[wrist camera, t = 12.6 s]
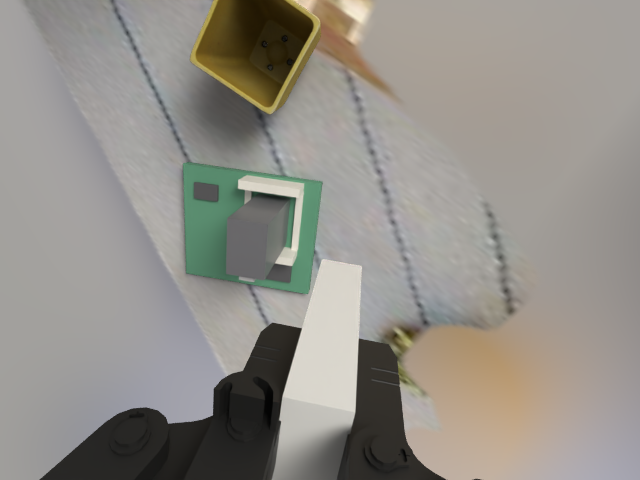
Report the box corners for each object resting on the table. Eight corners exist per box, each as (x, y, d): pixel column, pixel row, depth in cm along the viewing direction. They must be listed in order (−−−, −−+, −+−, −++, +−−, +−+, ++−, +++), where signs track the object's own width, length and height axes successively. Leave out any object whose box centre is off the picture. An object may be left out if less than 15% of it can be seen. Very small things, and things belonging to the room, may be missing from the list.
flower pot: (291, 114, 40) (270, 117, 32) (225, 69, 39) (186, 60, 31) (333, 39, 37) (322, 20, 29) (262, -11, 36) (230, -46, 28)
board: (187, 162, 44) (170, 167, 40) (322, 181, 42) (317, 189, 38) (190, 269, 49) (175, 283, 45) (309, 289, 48) (304, 306, 44)
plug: (258, 193, 43) (227, 218, 33) (290, 198, 42) (268, 224, 33) (255, 243, 45) (225, 279, 36) (285, 249, 45) (263, 286, 36)
